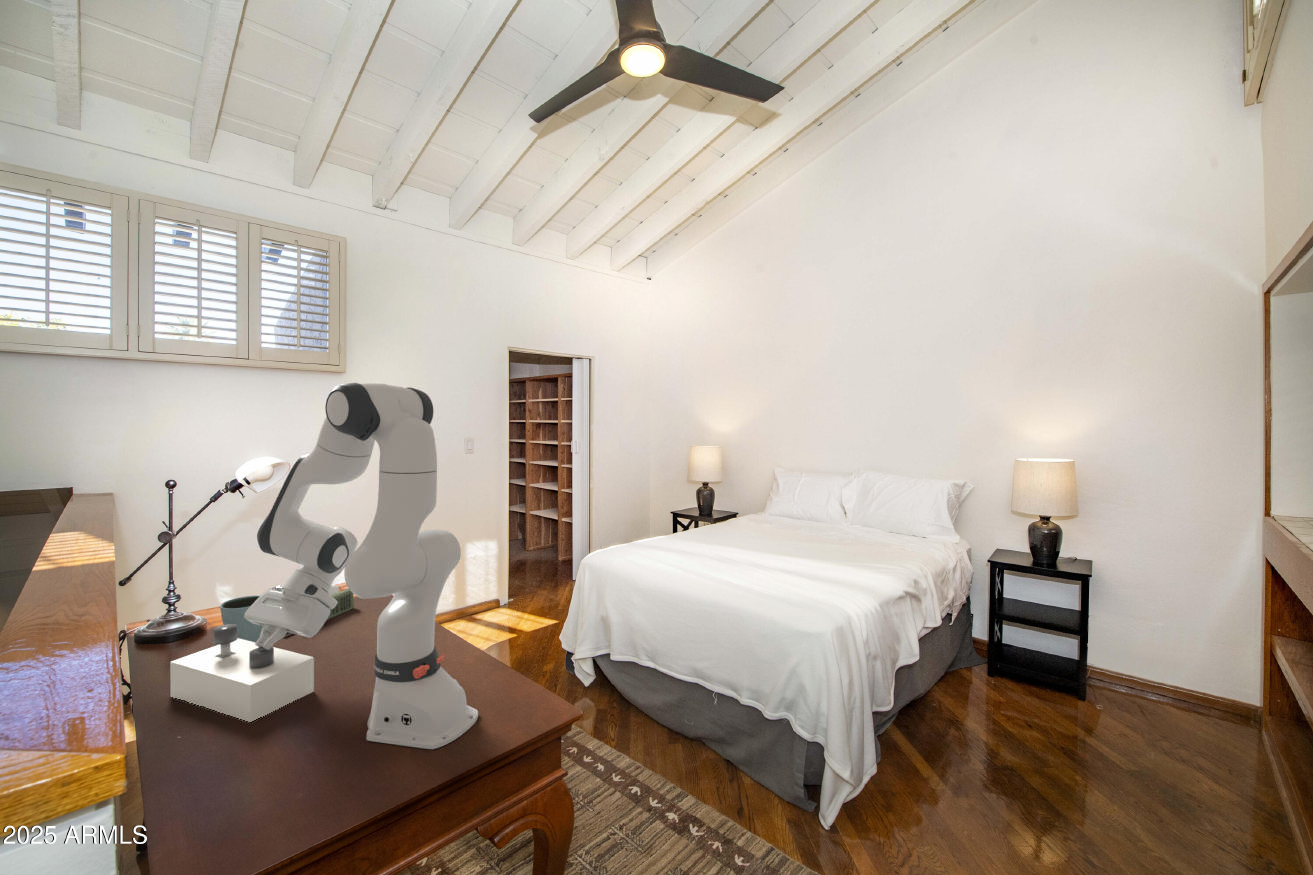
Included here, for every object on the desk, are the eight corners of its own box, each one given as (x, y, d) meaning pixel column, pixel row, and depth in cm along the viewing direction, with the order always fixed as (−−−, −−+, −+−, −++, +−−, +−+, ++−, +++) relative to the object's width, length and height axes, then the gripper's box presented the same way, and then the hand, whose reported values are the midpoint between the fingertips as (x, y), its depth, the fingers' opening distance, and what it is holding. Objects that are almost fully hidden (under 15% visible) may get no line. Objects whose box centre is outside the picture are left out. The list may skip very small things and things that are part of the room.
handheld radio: (355, 608, 178) (288, 638, 154) (347, 608, 179) (278, 637, 154) (355, 588, 178) (287, 615, 153) (346, 587, 179) (278, 614, 154)
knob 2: (278, 678, 123) (278, 648, 122) (258, 687, 119) (258, 656, 118) (264, 674, 124) (264, 644, 124) (244, 683, 120) (244, 652, 120)
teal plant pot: (276, 638, 153) (276, 596, 152) (245, 654, 143) (245, 609, 142) (243, 636, 154) (242, 594, 154) (210, 651, 144) (210, 606, 143)
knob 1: (242, 654, 127) (242, 625, 126) (221, 662, 123) (221, 632, 122) (229, 651, 128) (229, 622, 128) (208, 658, 124) (208, 629, 124)
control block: (313, 691, 126) (313, 657, 125) (250, 722, 113) (250, 684, 112) (237, 669, 135) (237, 637, 134) (170, 696, 122) (170, 661, 121)
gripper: (264, 578, 131) (219, 633, 123) (326, 590, 124) (283, 650, 116) (282, 591, 136) (240, 644, 127) (343, 604, 129) (303, 661, 120)
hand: (261, 647), depth 121 cm, fingers closed, pressing on knob 2
